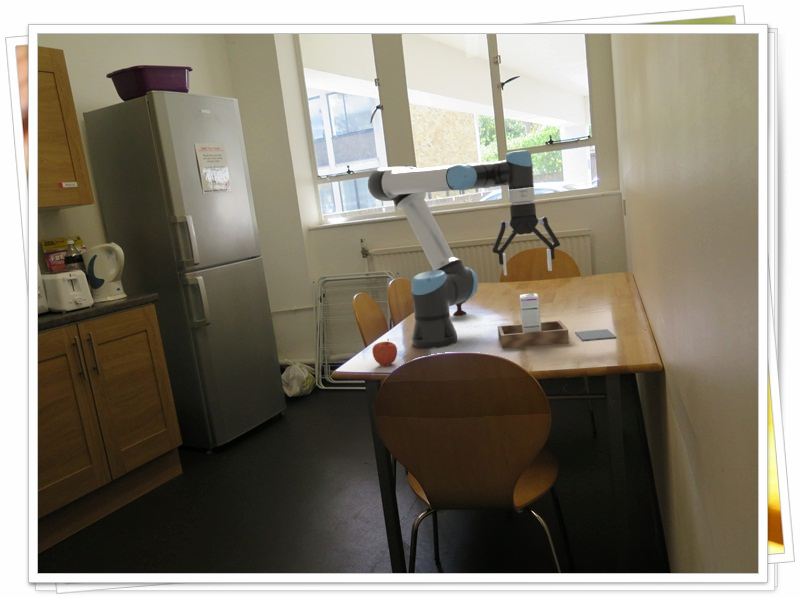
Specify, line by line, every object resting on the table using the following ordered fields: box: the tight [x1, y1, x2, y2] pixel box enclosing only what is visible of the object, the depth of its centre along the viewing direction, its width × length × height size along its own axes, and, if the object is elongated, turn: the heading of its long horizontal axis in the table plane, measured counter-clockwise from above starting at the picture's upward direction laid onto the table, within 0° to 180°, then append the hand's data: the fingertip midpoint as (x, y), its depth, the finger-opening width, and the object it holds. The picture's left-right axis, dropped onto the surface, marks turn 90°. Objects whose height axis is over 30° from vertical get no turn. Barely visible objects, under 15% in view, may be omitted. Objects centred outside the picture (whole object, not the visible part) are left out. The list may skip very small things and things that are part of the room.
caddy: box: [497, 320, 570, 349], centre depth 179 cm, size 20×13×4 cm, turn 85°
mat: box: [574, 328, 617, 342], centre depth 176 cm, size 10×10×1 cm
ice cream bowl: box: [452, 301, 467, 317], centre depth 229 cm, size 11×11×15 cm
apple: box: [371, 338, 398, 367], centre depth 169 cm, size 7×7×8 cm
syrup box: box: [519, 292, 542, 333], centre depth 178 cm, size 6×6×14 cm
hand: (527, 272), depth 176 cm, fingers open, 13 cm apart
